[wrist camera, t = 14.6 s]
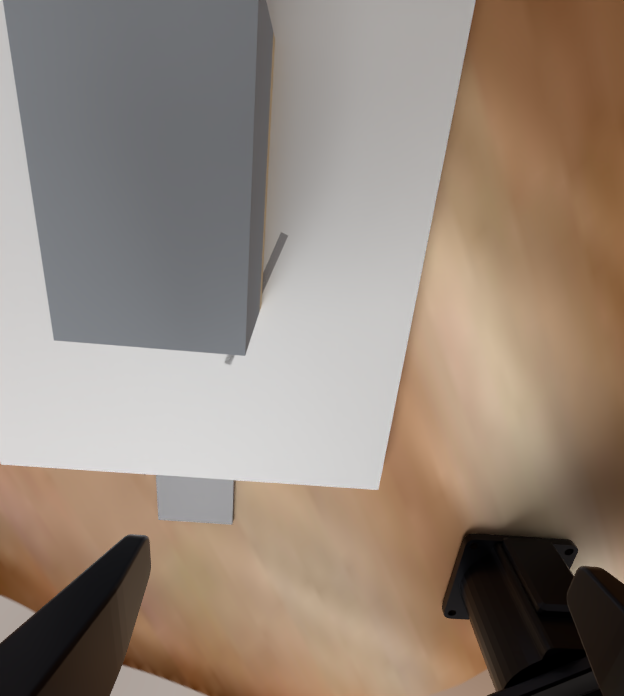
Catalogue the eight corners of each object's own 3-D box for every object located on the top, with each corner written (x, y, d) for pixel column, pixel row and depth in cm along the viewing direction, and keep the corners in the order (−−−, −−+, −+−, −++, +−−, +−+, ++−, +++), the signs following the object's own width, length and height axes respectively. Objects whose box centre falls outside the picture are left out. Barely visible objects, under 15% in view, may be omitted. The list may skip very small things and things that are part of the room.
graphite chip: (234, 513, 24) (232, 524, 23) (163, 508, 24) (158, 519, 23) (236, 455, 22) (234, 465, 22) (160, 449, 22) (155, 459, 21)
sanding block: (261, 305, 17) (245, 356, 12) (122, 293, 17) (53, 340, 12) (274, 39, 14) (259, -29, 9) (101, 18, 13) (-7, -63, 9)
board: (373, 469, 22) (378, 489, 21) (20, 445, 21) (0, 464, 20) (477, -76, 14) (496, -104, 12) (-100, -156, 13) (-150, -195, 11)
